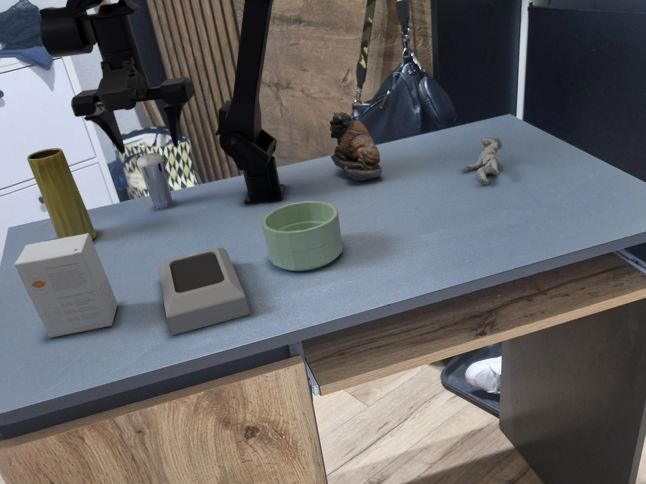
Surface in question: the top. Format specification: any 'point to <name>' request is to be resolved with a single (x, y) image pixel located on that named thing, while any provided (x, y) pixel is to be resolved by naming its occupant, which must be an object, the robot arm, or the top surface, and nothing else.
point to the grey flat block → (201, 290)
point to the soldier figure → (487, 160)
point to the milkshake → (156, 179)
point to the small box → (67, 285)
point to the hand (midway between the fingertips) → (149, 149)
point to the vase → (60, 193)
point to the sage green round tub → (302, 235)
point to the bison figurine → (354, 148)
